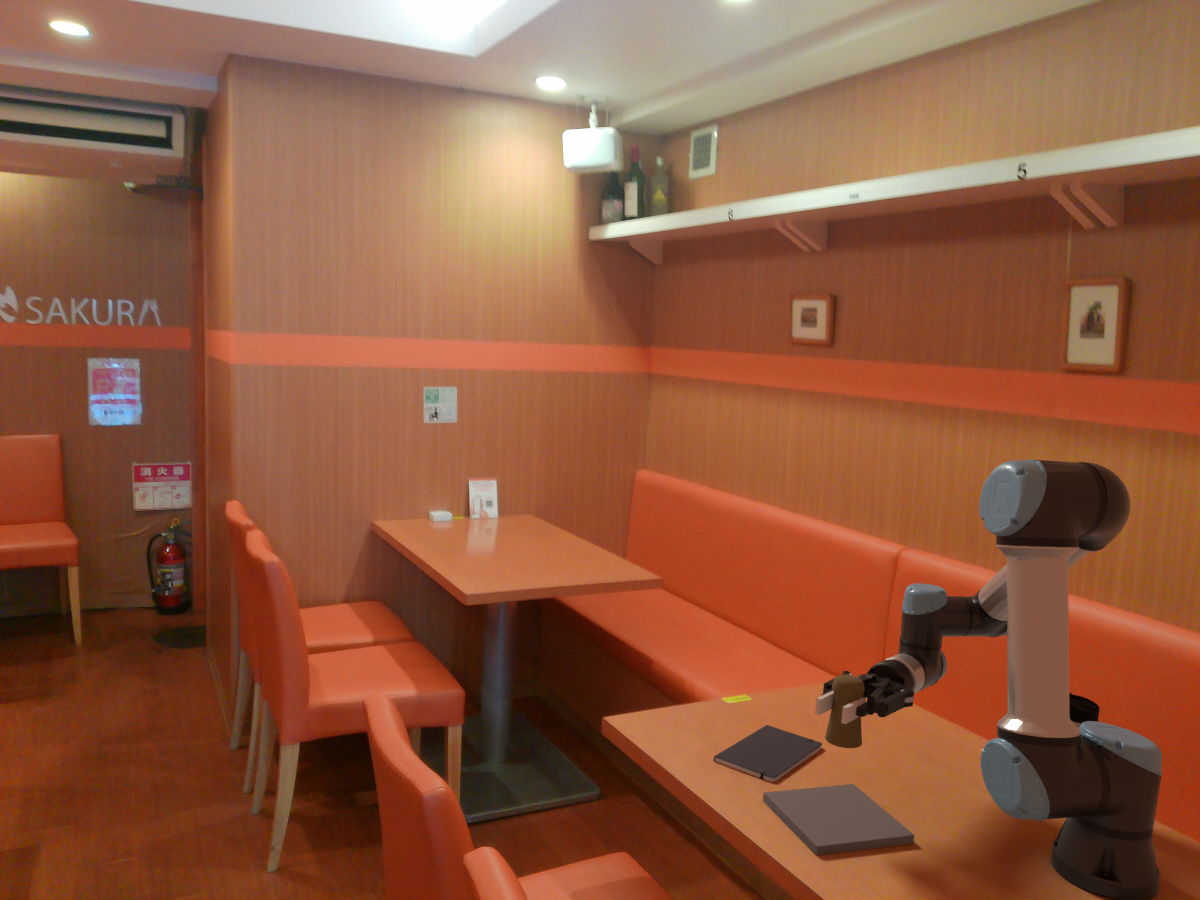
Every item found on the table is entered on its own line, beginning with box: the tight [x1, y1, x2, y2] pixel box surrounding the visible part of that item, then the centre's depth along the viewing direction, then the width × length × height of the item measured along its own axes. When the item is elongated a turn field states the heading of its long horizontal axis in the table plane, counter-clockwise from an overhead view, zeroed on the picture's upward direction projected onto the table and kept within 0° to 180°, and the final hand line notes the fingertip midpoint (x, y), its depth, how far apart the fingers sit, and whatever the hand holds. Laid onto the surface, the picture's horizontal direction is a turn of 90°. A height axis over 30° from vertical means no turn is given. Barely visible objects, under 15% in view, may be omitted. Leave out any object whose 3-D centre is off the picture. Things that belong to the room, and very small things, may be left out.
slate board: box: [762, 783, 915, 856], centre depth 160 cm, size 18×18×2 cm
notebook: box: [713, 724, 823, 783], centre depth 185 cm, size 13×2×21 cm
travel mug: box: [1069, 692, 1101, 728], centre depth 171 cm, size 6×7×20 cm
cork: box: [824, 674, 865, 749], centre depth 158 cm, size 6×6×11 cm
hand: (831, 710), depth 154 cm, fingers closed on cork, 4 cm apart
